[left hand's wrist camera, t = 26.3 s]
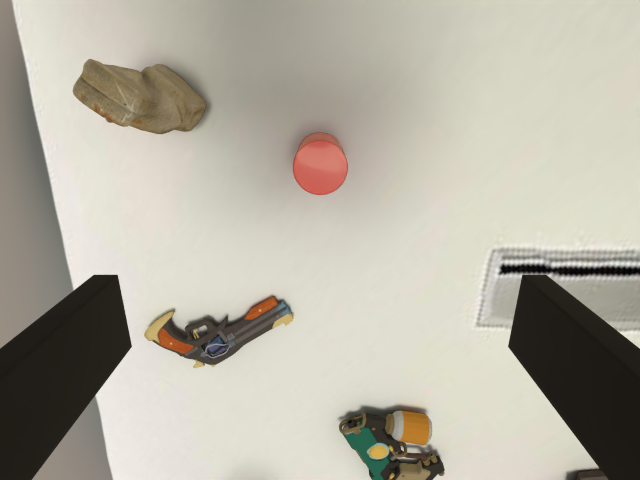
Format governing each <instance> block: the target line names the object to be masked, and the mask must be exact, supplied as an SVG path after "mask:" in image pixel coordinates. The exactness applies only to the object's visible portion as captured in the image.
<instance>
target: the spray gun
mask: <svg viewBox="0 0 640 480" xmlns="http://www.w3.org/2000/svg"><path fill="white" fill-rule="evenodd" d="M361 418H362V419H361ZM358 419H359V421H358ZM346 423H347V425H346V426H344V428H343V429H342V425H343V424H346ZM384 428H385V430H386V432H385V430H384ZM339 430H340V432H341V433H342V434H343V435H344V437H345V438H346V440H347V441H348V443H349V444H350V446H351V448H352V449H354V450H356V452H357V453H358V455H359V456H360V458H361V459H362V461H363V462H364V463H366V465H367V466H368V468H369V475H370V477H371V479H372V480H433V479H434V477H435V476H436V475H437V474H439V475H440V476H443V475H444V471H445V470H444V466H443V463H442V461H441V459H440V457H439V456H435V454H434V453H430V454H429V456H428V457H427V456H426V455H423V454H420V453H407V447H406V444H405V443H404V442H408V443H414V444H419V445H426V444H427V443H428V442H429V441H430V439H431V436H432V423H431V420H430V419H429V417H428V416H427V415H425V414H420V413H414V412H407V411H395V412H394V413H393V414H388V415H387V417H386V418H383V417H379V416H375V415H370V414H366V413H362V414H361V416H358V417H355V418H352V419H349V420H345V421H343V422H341V423H340V425H339ZM390 434H391V435H390ZM397 440H398V441H402V442H399V443H398V441H397ZM401 445H403V447H404V452H403V451H402V450H401V447H400V446H401ZM395 452H397V453H398V454H397V453H395ZM392 455H394V456H396V457H407V458H421V459H422V460H420V461H419V462H418V463H417V464H407V463H399V460H396V461H391V460H389V457H390V456H392Z"/></svg>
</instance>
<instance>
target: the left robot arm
mask: <svg viewBox="0 0 640 480" xmlns="http://www.w3.org/2000/svg"><path fill="white" fill-rule="evenodd" d="M131 347H132V345H131V340H130V335H129V330H128V325H127V320H126V315H125V310H124V305H123V300H122V295H121V290H120V285H119V280H118V275H93V276H92V277H91V278H89V279H88V280H87V281H86V282H84V283H83V284H82V285H81V286H79V287H78V288H77V289H75V290H74V291H73V292H72V293H70V294H69V295H68V296H67V297H65V298H64V299H63V300H61V301H60V302H59V303H58V304H56V305H55V306H54V307H53V308H51V309H50V310H49V311H48V312H46V313H45V314H44V315H43V316H41V317H40V318H39V319H37V320H36V321H35V322H34V323H32V324H31V325H30V326H29V327H27V328H26V329H25V330H24V331H22V332H21V333H20V334H18V335H17V336H16V337H15V338H13V339H12V340H11V341H10V342H8V343H7V344H6V345H4V346H3V347H2V348H1V349H0V480H32V479H33V477H34V476H35V474H36V473H37V472H38V471H39V469H40V468H41V467H42V465H43V464H44V463H45V461H46V460H47V459H48V457H49V456H50V455H51V453H52V452H53V451H54V449H55V448H56V447H57V445H58V444H59V443H60V441H61V440H62V439H63V437H64V436H65V435H66V433H67V432H68V431H69V429H70V428H71V427H72V425H73V424H74V423H75V421H76V420H77V419H78V417H79V416H80V415H81V413H82V412H83V411H84V409H85V408H86V407H87V405H88V404H89V403H90V401H91V400H92V399H93V397H94V396H95V395H96V394H97V392H98V391H99V390H100V388H101V387H102V386H103V384H104V383H105V382H106V380H107V379H108V378H109V376H110V375H111V374H112V372H113V371H114V370H115V368H116V367H117V366H118V364H119V363H120V362H121V360H122V359H123V358H124V356H125V355H126V354H127V352H128V351H129V350H130V348H131ZM508 347H509V348H510V350H511V351H512V352H513V354H514V355H515V356H516V358H517V359H518V360H519V362H520V363H521V364H522V366H523V367H524V368H525V370H526V371H527V372H528V374H529V375H530V376H531V378H532V379H533V380H534V382H535V383H536V384H537V386H538V387H539V388H540V390H541V391H542V392H543V394H544V395H545V396H546V398H547V399H548V400H549V401H550V403H551V404H552V405H553V407H554V408H555V409H556V411H557V412H558V413H559V415H560V416H561V417H562V419H563V420H564V421H565V423H566V424H567V425H568V427H569V428H570V429H571V431H572V432H573V433H574V435H575V436H576V437H577V439H578V440H579V441H580V443H581V444H582V445H583V447H584V448H585V449H586V451H587V452H588V453H589V455H590V456H591V457H592V459H593V460H594V461H595V463H596V464H597V465H598V467H599V468H600V469H601V471H602V472H603V473H604V475H605V476H606V477H607V479H608V480H640V349H639V348H638V347H637V346H636V345H634V344H633V343H632V342H631V341H629V340H628V339H627V338H625V337H624V336H623V335H622V334H620V333H619V332H618V331H617V330H615V329H614V328H613V327H611V326H610V325H609V324H608V323H606V322H605V321H604V320H603V319H601V318H600V317H599V316H598V315H596V314H595V313H594V312H592V311H591V310H590V309H589V308H587V307H586V306H585V305H584V304H582V303H581V302H580V301H579V300H577V299H576V298H575V297H573V296H572V295H571V294H570V293H568V292H567V291H566V290H565V289H563V288H562V287H561V286H559V285H558V284H557V283H556V282H554V281H553V280H552V279H551V278H549V277H548V276H547V275H522V280H521V285H520V290H519V295H518V300H517V305H516V310H515V315H514V320H513V325H512V330H511V335H510V340H509V345H508Z"/></svg>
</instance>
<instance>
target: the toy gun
mask: <svg viewBox="0 0 640 480" xmlns="http://www.w3.org/2000/svg"><path fill="white" fill-rule="evenodd" d="M173 314H174V312H172V311H171V312H169V313H167V314H165V315H163V316H162V317H160V318H159V319H157V320H156V321H155V322H154V323H153V324H152V325H151V326H150V327H149V328H148V329H147V330H146V332H145V334H144V336H145V338H146V339H147V340H149V341H153V342H155V343H156V344H158V345H159V346H161V347H163V348H165V349H168V350H170V351H173V352H176V353H177V354H179V355H180V356H183V357H185V358H188V359H194V360H195V361H196V364H195V365H194V366H193V368H198V367H200V366H205V364H204V363H206V364H209V365H211V366H212V367H214V366H215V365H216V364H218V363H220V362H222V361H223V360H225V359H227V358H228V357H230V356H231V355H233V354H234V353H236V352H237V351H238V350H239V349H240V348H241V347H242V346H243V345H245V344H247V343H248V342H250V341H252V340H253V339H255V338H257V337H258V336H260V335H262V334H264V333H265V332H267V331H269V330H271V329H273V328H275V327H277V326H279V325H280V324H282V323H284V324H285V325H286V326H287V325H288V324H289V323H290V322H291V321H293V315H292V314H291V310H290V308H289V307H288V306H287V307H286V303H285V302H284V301H282V302H281V301H280V302H278V301H277V300H276V298H275V297H271V298H269V299H267V300H265V301H263V302H261V303H260V304H258V305H256V306H254V307H253V308H251V309H250V311H249V312H248V314H247V315H246V316H245V318H243V319H241V320H240V321H238V322H236V323H234V324H232V325H228V326H226V325H227V319H228V318H227V317H226V318H225V319H224V321H223V322H222V323H220V324H219V325H215V324H214V322H213V321H212V320H211V319H208V318H205V319H203V320H202V321H200V322H198V323H195V324H190V325H187V326H186V327H185V330H186V332H187V335H188V337H186V336H184V335H182V334H181V333H179V332H177V331H176V330H175V329H174V327H173V325H172V323H171V317H172V316H173ZM203 325H206V326H207V328H208V332H207V333H205V334H203V335H202V336H200V337H199V336H198V334H197V332H196V331H197V330H198V329H196V328H199V327H201V326H203ZM192 329H194V330H193V334H194V337H195V338H194V337H193V335H192V334H191V330H192ZM195 334H196V336H197V338H196V336H195ZM218 334H219V336H217V335H218ZM215 337H216V338H215ZM213 338H215V339H214V340H213V341H212V342H211V343H210V341H211V340H212V339H213ZM209 340H210V341H209ZM208 341H209V342H208ZM206 342H208V345H207V347H205V346H204V343H206ZM209 343H210V344H209ZM228 344H229V348H228V349H227V350H226V351H224V352H222V353H220V354H218V355H214V356H212V355H211V354H210V353H212V354H216V353H219V352H221V351H223V350H225V349H226V347H227V345H228Z"/></svg>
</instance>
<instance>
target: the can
mask: <svg viewBox="0 0 640 480" xmlns="http://www.w3.org/2000/svg"><path fill="white" fill-rule="evenodd" d="M347 170H348V165H347V160H346V157H345V155H344V152H343V150H342V147H341V145H340V143H339V142H338V141H337V139H336V138H334V137H333V136H331V135H330V134H327V133H322V132H318V133H314V134H311V135H309V136H307V137H306V138H305V139H304V140H303V141H302V143H301V144H300V146H299V149H298V151H297V154H296V156H295V159H294V162H293V173H294V176H295V179H296V181H297V183H298V184H299V185H300V186H301V187H302V188H303V189H304V190H305V191H307V192H309V193H312V194H316V195H325V194H329V193H331V192H333V191H335V190H337V189H338V188H339V187H340V186H341V185H342V183H343V182H344V180H345V178H346V175H347Z"/></svg>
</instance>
